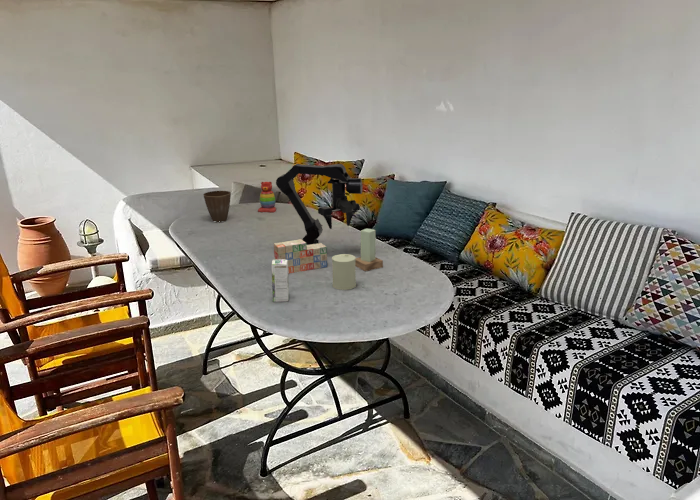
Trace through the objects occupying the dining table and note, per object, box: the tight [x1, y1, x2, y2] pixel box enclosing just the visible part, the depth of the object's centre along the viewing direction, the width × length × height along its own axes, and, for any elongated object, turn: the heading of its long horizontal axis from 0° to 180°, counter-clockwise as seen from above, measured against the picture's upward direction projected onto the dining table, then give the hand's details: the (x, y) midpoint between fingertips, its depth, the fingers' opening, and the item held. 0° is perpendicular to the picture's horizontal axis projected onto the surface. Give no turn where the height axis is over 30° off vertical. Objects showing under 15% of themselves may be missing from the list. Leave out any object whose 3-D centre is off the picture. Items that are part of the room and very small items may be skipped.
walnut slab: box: [355, 256, 384, 272], centre depth 226 cm, size 9×9×3 cm
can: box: [331, 253, 357, 291], centre depth 204 cm, size 9×9×12 cm
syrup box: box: [271, 259, 290, 303], centre depth 192 cm, size 6×6×14 cm
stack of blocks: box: [273, 238, 328, 274], centre depth 223 cm, size 21×6×12 cm, turn 114°
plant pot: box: [203, 190, 232, 223], centre depth 299 cm, size 15×15×16 cm
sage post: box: [360, 228, 376, 262], centre depth 224 cm, size 4×4×13 cm
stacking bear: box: [257, 181, 277, 213], centre depth 321 cm, size 11×10×18 cm
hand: (339, 227), depth 238 cm, fingers open, 9 cm apart
